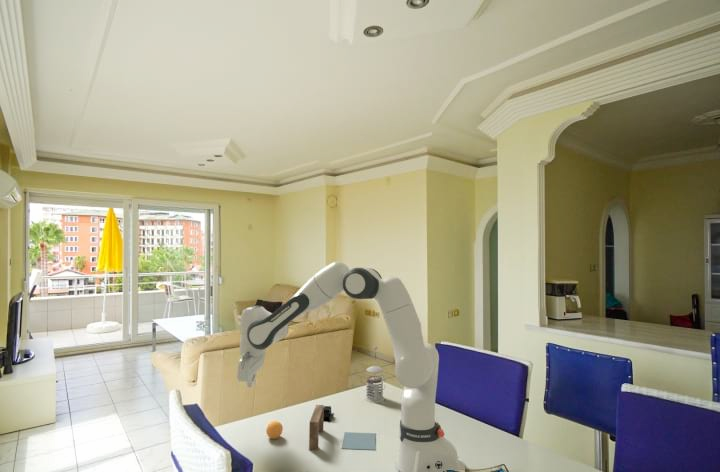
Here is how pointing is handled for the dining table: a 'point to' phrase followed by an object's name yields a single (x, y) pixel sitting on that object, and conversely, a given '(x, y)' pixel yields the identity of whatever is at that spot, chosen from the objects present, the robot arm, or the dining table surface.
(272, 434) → the ball
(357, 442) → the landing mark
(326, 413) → the black stepped block
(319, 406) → the bridge
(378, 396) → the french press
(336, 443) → the dining table surface
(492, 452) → the dining table surface
